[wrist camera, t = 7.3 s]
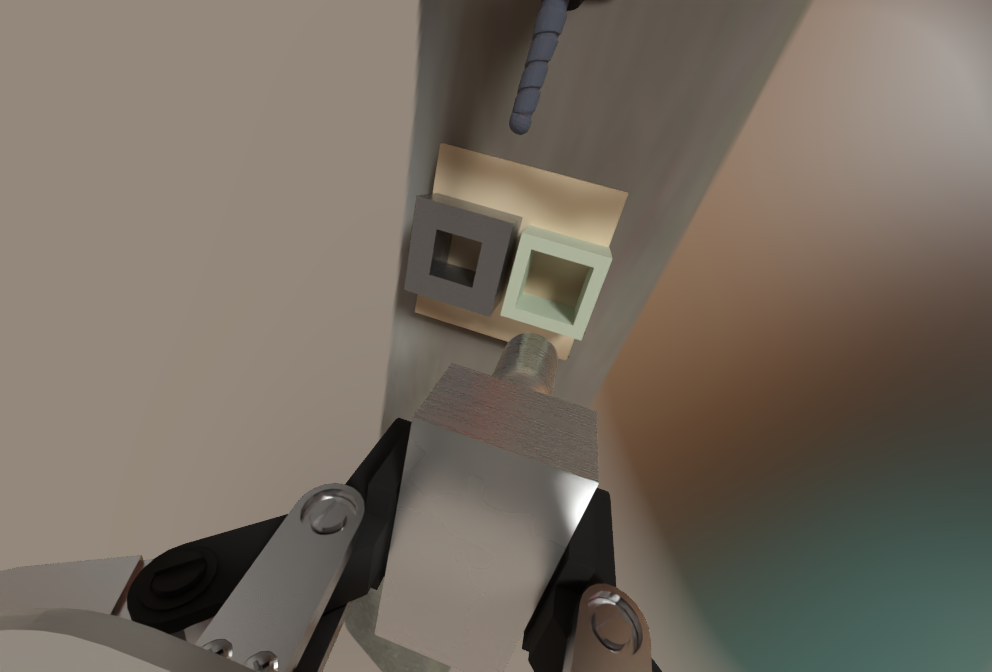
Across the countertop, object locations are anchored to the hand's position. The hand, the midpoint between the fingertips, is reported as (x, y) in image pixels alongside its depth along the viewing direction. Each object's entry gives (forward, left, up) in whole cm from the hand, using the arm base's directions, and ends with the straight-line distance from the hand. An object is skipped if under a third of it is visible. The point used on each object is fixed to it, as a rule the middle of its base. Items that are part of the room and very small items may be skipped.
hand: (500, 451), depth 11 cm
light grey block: (0, 0, -6) cm, 6 cm away
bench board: (-2, -3, -23) cm, 23 cm away
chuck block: (-4, -6, -21) cm, 22 cm away
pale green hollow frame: (0, 0, -21) cm, 21 cm away
